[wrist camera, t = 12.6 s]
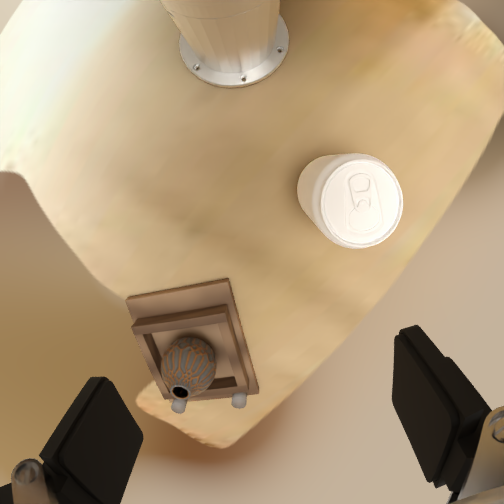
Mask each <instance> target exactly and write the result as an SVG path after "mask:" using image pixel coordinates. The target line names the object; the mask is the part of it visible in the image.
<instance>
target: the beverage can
mask: <svg viewBox="0 0 504 504" xmlns="http://www.w3.org/2000/svg"><path fill="white" fill-rule="evenodd" d="M297 195H298V200H299V203H300V205H301V207H302V209H303V211H304V212H305V213H306V214H307V216H308V217H309V218H310V219H311V220H312V221H313V222H314V224H315V225H316V226H317V227H318V228H319V229H320V231H321V232H322V233H323V234H324V235H325V236H326V237H327V238H328V239H329V240H331V241H332V242H334V243H336V244H338V245H340V246H343V247H346V248H353V249H359V248H366V247H369V246H373V245H376V244H378V243H380V242H382V241H383V240H385V239H386V238H387V237H388V236H389V235H390V234H391V233H392V232H393V231H394V230H395V228H396V226H397V225H398V223H399V220H400V218H401V214H402V210H403V196H402V191H401V187H400V185H399V183H398V181H397V179H396V177H395V175H394V174H393V172H392V171H391V170H390V168H389V167H388V166H387V165H386V164H384V163H383V162H382V161H380V160H379V159H377V158H375V157H373V156H370V155H367V154H362V153H349V154H336V155H326V156H321V157H319V158H316V159H315V160H313V161H311V162H310V163H309V164H308V165H307V166H306V167H305V168H304V170H303V171H302V173H301V175H300V177H299V180H298V185H297Z"/></svg>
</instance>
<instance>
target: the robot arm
mask: <svg viewBox="0 0 504 504" xmlns="http://www.w3.org/2000/svg"><path fill="white" fill-rule="evenodd" d="M160 2H161V3H162V5H163V6H164V8H165V9H166V11H167V12H168V14H169V15H170V17H171V18H172V20H173V21H174V23H175V24H176V26H177V27H178V29H179V30H180V32H181V34H180V39H179V49H180V54H181V57H182V60H183V61H184V63H185V65H186V66H187V68H188V69H189V70H190V71H191V72H192V73H193V74H194V75H195V76H196V77H198V78H199V79H201V80H203V81H204V82H206V83H209V84H212V85H215V86H219V87H226V88H238V87H244V86H249V85H252V84H255V83H258V82H260V81H261V80H263V79H265V78H267V77H268V76H270V75H271V74H272V73H273V72H275V71H276V69H277V68H278V67H279V66H280V65H281V63H282V62H283V60H284V58H285V56H286V53H287V50H288V45H289V32H288V29H287V26H286V23H285V21H284V20H283V18H282V16H281V15H280V14H279V8H280V0H160ZM278 50H281V51H282V52H281V53H279V52H278ZM197 68H200V69H199V70H198V71H197V70H196V69H197ZM243 78H245V79H246V81H244V82H243V81H242V79H243ZM392 402H393V406H394V408H395V410H396V412H397V415H398V417H399V419H400V421H401V423H402V425H403V428H404V430H405V432H406V434H407V437H408V439H409V441H410V443H411V445H412V448H413V450H414V452H415V455H416V457H417V459H418V462H419V464H420V466H421V469H422V471H423V473H424V476H425V478H426V480H427V482H429V483H430V482H432V481H433V483H434V486H435V488H438V487H441V486H443V485H445V484H446V485H447V487H448V489H449V491H451V494H450V496H449V499H448V501H447V503H446V504H504V406H502V407H498V408H496V409H495V410H493V411H492V410H491V409H490V407H489V406H488V405H487V403H486V402H485V401H484V399H483V398H482V397H481V395H480V394H479V393H478V392H477V390H476V389H475V388H474V386H473V385H472V384H471V382H470V381H469V380H468V379H467V378H466V376H465V375H464V374H463V372H462V371H461V370H460V369H459V368H458V366H457V365H456V364H455V362H453V360H452V359H451V358H450V357H444V356H443V354H442V353H441V352H440V351H439V349H438V348H437V347H436V346H435V345H434V343H433V342H432V341H431V340H430V338H429V337H428V336H427V335H426V334H425V332H424V331H423V330H422V329H421V328H420V327H419V326H418V325H414V326H411V327H408V328H404V329H401V330H400V332H399V335H396V336H395V339H394V370H393V388H392ZM142 442H143V433H142V431H141V429H140V428H139V426H138V425H137V423H136V421H135V420H134V418H133V417H132V415H131V413H130V412H129V410H128V408H127V407H126V405H125V403H124V402H123V400H122V398H121V396H120V395H119V393H118V391H117V389H116V388H115V386H114V384H113V383H112V382H111V381H109V379H108V378H106V377H91V378H90V379H89V380H88V381H87V383H86V384H85V386H84V387H83V388H82V390H81V391H80V393H79V394H78V396H77V397H76V399H75V400H74V402H73V403H72V405H71V406H70V408H69V409H68V411H67V412H66V414H65V415H64V417H63V418H62V420H61V421H60V423H59V425H58V426H57V427H56V429H55V431H54V432H53V434H52V435H51V437H50V438H49V440H48V442H47V443H46V445H45V446H44V448H43V450H42V451H41V453H40V455H39V456H40V457H41V459H42V460H43V461H44V463H43V464H41V463H40V462H39V461H38V460H36V459H30V458H29V459H25V460H23V461H21V462H20V463H18V464H17V465H16V467H15V468H14V469H13V471H12V474H11V483H9V484H7V485H4V486H2V487H0V504H120V503H121V500H122V497H123V494H124V491H125V488H126V486H127V482H128V480H129V477H130V474H131V472H132V469H133V466H134V463H135V461H136V458H137V455H138V453H139V449H140V447H141V444H142Z"/></svg>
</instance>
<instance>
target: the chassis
mask: <svg viewBox="0 0 504 504" xmlns="http://www.w3.org/2000/svg"><path fill="white" fill-rule="evenodd" d="M125 301H126V304H127V307H128V309H129V312H130V314H131V317H132V319H133V322H134V324H133V326H132V327H131V328H132V330H133V333H134V335H135V338H136V340H137V342H138V345H139V347H140V349H141V351H142V354H143V356H144V358H145V360H146V362H147V365H148V367H149V369H150V371H151V373H152V375H153V377H154V379H155V382H156V384H157V386H158V388H159V390H160V392H161V394H162V396H163V398H164V399H169V401H170V402H173V403H172V406H171V409H172V410H173V411H174V412H176V413H183V412H184V411H185V408H186V404H187V401H199V400H210V399H220V398H229V397H232V406H233V407H235V408H244V407H245V406H246V399H247V395H253V394H259V386H258V383H257V380H256V376H255V373H254V369H253V366H252V362H251V359H250V355H249V351H248V348H247V344H246V341H245V337H244V334H243V330H242V326H241V323H240V319H239V315H238V312H237V308H236V304H235V301H234V297H233V293H232V289H231V286H230V282H229V278H227V279H222V280H217V281H211V282H206V283H201V284H196V285H190V286H185V287H180V288H174V289H169V290H164V291H158V292H153V293H147V294H142V295H136V296H131V297H128V298H127V299H126V300H125ZM184 337H194V338H198V339H200V340H202V341H204V342H206V343H207V344H208V345H209V346H210V347H211V349H212V350H213V352H214V354H215V357H216V362H217V368H216V374H215V377H214V380H213V382H212V383H211V385H210V386H209V387H208V388H207V389H206V390H205V391H204V392H202V393H200V394H198V395H195V396H191V397H190V398H189V399H187V400H179V399H176V398H174V397H173V396H172V395H171V393H170V389H169V388H168V387H167V385H166V384H165V382H164V380H163V378H162V375H161V361H162V357H163V355H164V353H165V351H166V349H167V348H168V347H169V346H170V345H171V344H172V343H173V342H174V341H176V340H178V339H180V338H184Z"/></svg>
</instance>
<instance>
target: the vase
mask: <svg viewBox="0 0 504 504" xmlns="http://www.w3.org/2000/svg"><path fill="white" fill-rule="evenodd" d="M216 368H217V362H216V357H215V354H214V352H213V350H212V349H211V347H210V346H209V345H208V344H207V343H206V342H204V341H202V340H200V339H198V338H194V337H184V338H180V339H178V340H176V341H174V342H173V343H172V344H171V345H170V346H169V347H168V348H167V349H166V351H165V353H164V355H163V357H162V361H161V375H162V378H163V380H164V382H165V384H166V385H167V387H168V388H169V389H170V393H171V395H172V396H173V397H174V398H176V399H179V400H187V399H189V398H190V397H191V396H195V395H198V394H200V393H202V392H204V391H205V390H206V389H207V388H208V387H209V386H210V385H211V383H212V382H213V380H214V377H215V374H216Z"/></svg>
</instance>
